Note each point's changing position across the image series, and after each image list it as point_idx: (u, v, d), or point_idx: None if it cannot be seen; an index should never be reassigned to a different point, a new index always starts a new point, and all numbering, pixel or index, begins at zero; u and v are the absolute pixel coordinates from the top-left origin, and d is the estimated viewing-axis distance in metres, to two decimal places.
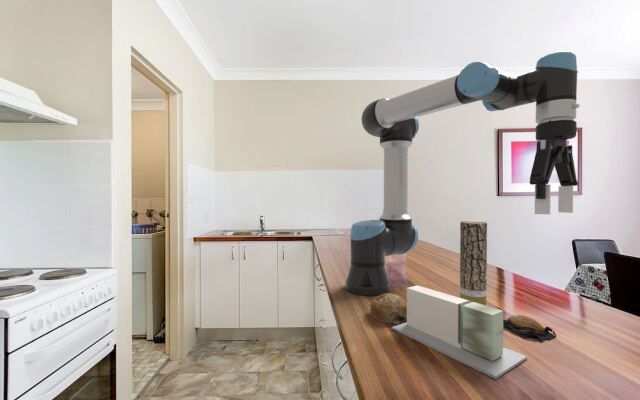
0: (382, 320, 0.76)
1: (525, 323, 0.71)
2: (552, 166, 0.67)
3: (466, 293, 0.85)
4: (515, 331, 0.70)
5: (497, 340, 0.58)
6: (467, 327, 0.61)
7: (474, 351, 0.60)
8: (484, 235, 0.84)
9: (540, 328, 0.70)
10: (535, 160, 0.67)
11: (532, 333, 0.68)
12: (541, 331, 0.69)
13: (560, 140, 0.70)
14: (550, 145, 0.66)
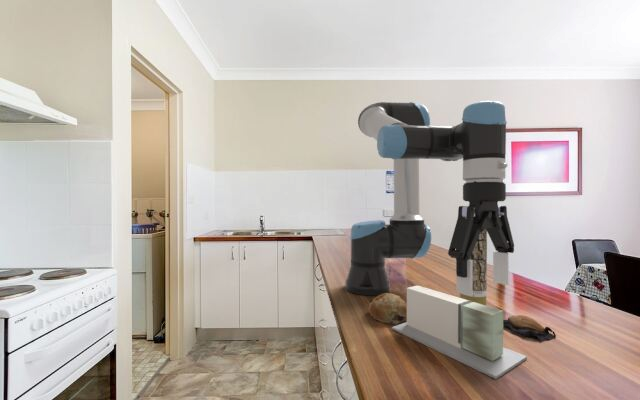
0: (381, 320, 0.76)
1: (524, 323, 0.71)
2: (475, 237, 0.57)
3: None
4: (514, 331, 0.70)
5: (497, 340, 0.58)
6: (467, 327, 0.61)
7: (474, 351, 0.60)
8: (484, 235, 0.84)
9: (540, 328, 0.70)
10: (455, 230, 0.57)
11: (531, 333, 0.68)
12: (540, 331, 0.69)
13: (489, 203, 0.59)
14: (471, 213, 0.56)
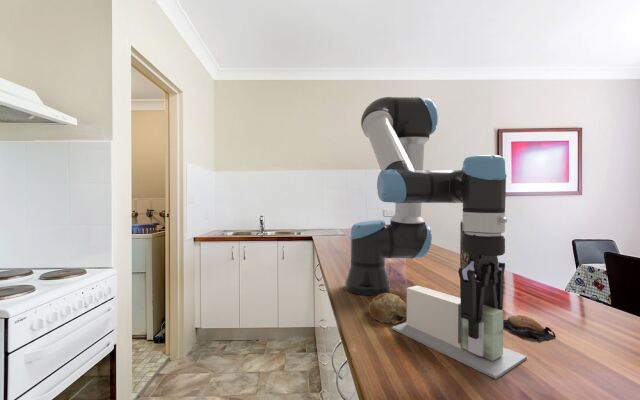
0: (381, 320, 0.77)
1: (524, 323, 0.71)
2: (481, 296, 0.58)
3: None
4: (514, 331, 0.70)
5: (497, 340, 0.58)
6: (467, 327, 0.61)
7: None
8: None
9: (539, 328, 0.70)
10: (461, 294, 0.58)
11: (530, 333, 0.68)
12: (540, 331, 0.69)
13: (488, 255, 0.60)
14: (472, 278, 0.56)
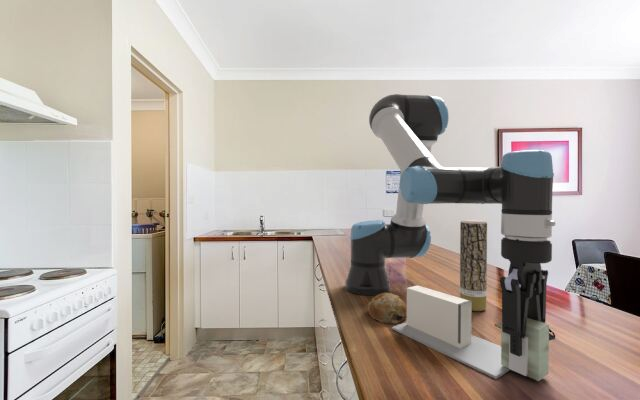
0: (380, 319, 0.77)
1: None
2: (526, 309, 0.52)
3: (466, 293, 0.85)
4: None
5: (543, 357, 0.52)
6: (507, 342, 0.55)
7: None
8: (484, 235, 0.84)
9: None
10: (503, 306, 0.52)
11: None
12: None
13: (532, 262, 0.53)
14: (517, 288, 0.50)
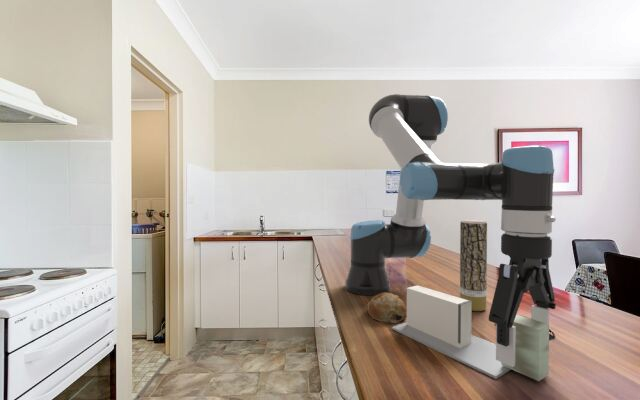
0: (380, 319, 0.77)
1: None
2: (519, 300, 0.51)
3: (466, 293, 0.85)
4: None
5: (543, 357, 0.52)
6: None
7: (516, 369, 0.54)
8: (484, 235, 0.84)
9: None
10: (496, 292, 0.51)
11: None
12: None
13: (532, 258, 0.53)
14: (515, 275, 0.50)
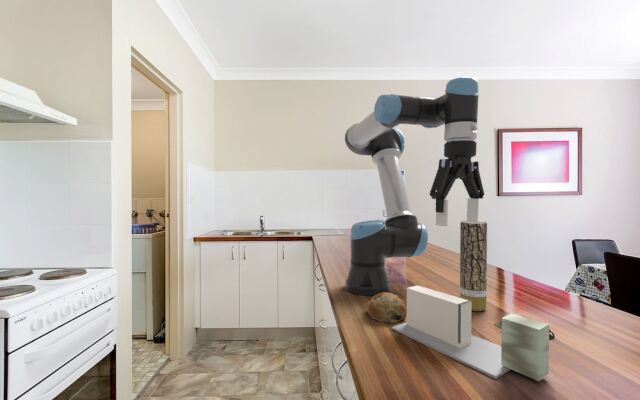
0: (379, 319, 0.77)
1: None
2: (451, 182, 0.74)
3: (466, 293, 0.85)
4: None
5: (543, 357, 0.52)
6: (507, 342, 0.55)
7: (516, 369, 0.54)
8: (484, 235, 0.84)
9: None
10: (436, 177, 0.74)
11: None
12: None
13: (463, 158, 0.77)
14: (448, 164, 0.73)
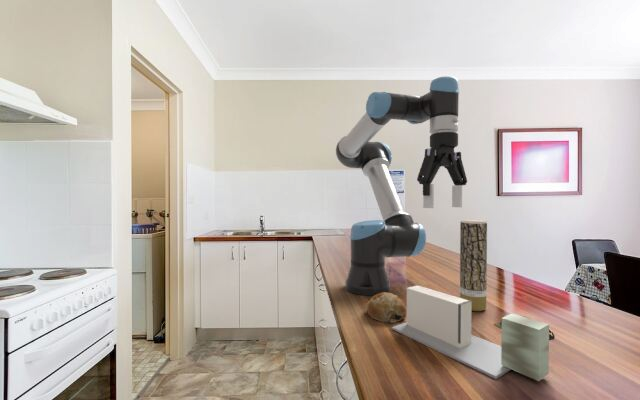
0: (379, 319, 0.77)
1: None
2: (436, 169, 0.83)
3: (466, 293, 0.85)
4: None
5: (543, 357, 0.52)
6: (507, 342, 0.55)
7: (516, 369, 0.54)
8: (484, 235, 0.84)
9: None
10: (422, 164, 0.83)
11: None
12: None
13: (447, 148, 0.86)
14: (433, 153, 0.82)
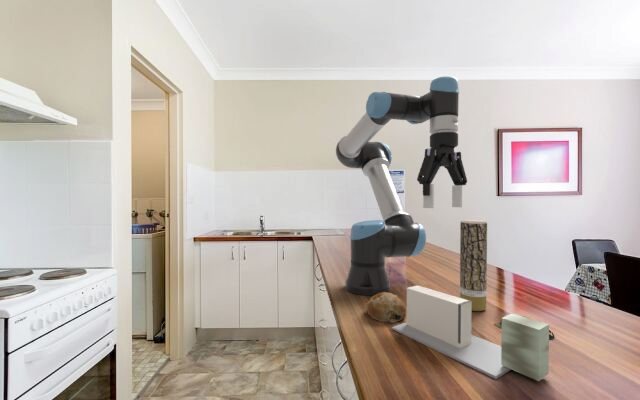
0: (379, 319, 0.77)
1: None
2: (436, 169, 0.83)
3: (466, 293, 0.85)
4: None
5: (543, 357, 0.52)
6: (507, 342, 0.55)
7: (516, 369, 0.54)
8: (484, 235, 0.84)
9: None
10: (422, 164, 0.83)
11: None
12: None
13: (447, 148, 0.86)
14: (433, 153, 0.82)
